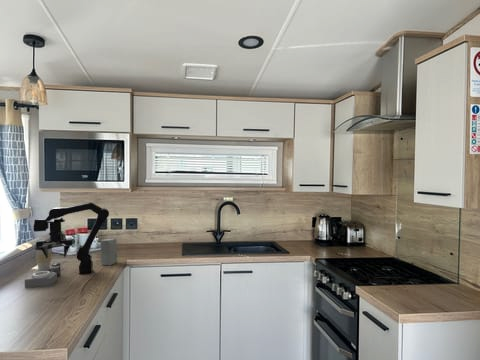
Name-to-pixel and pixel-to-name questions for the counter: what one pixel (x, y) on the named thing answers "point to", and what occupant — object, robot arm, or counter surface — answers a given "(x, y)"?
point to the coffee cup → (43, 258)
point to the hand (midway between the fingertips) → (56, 257)
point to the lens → (56, 268)
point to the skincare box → (108, 251)
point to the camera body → (41, 279)
